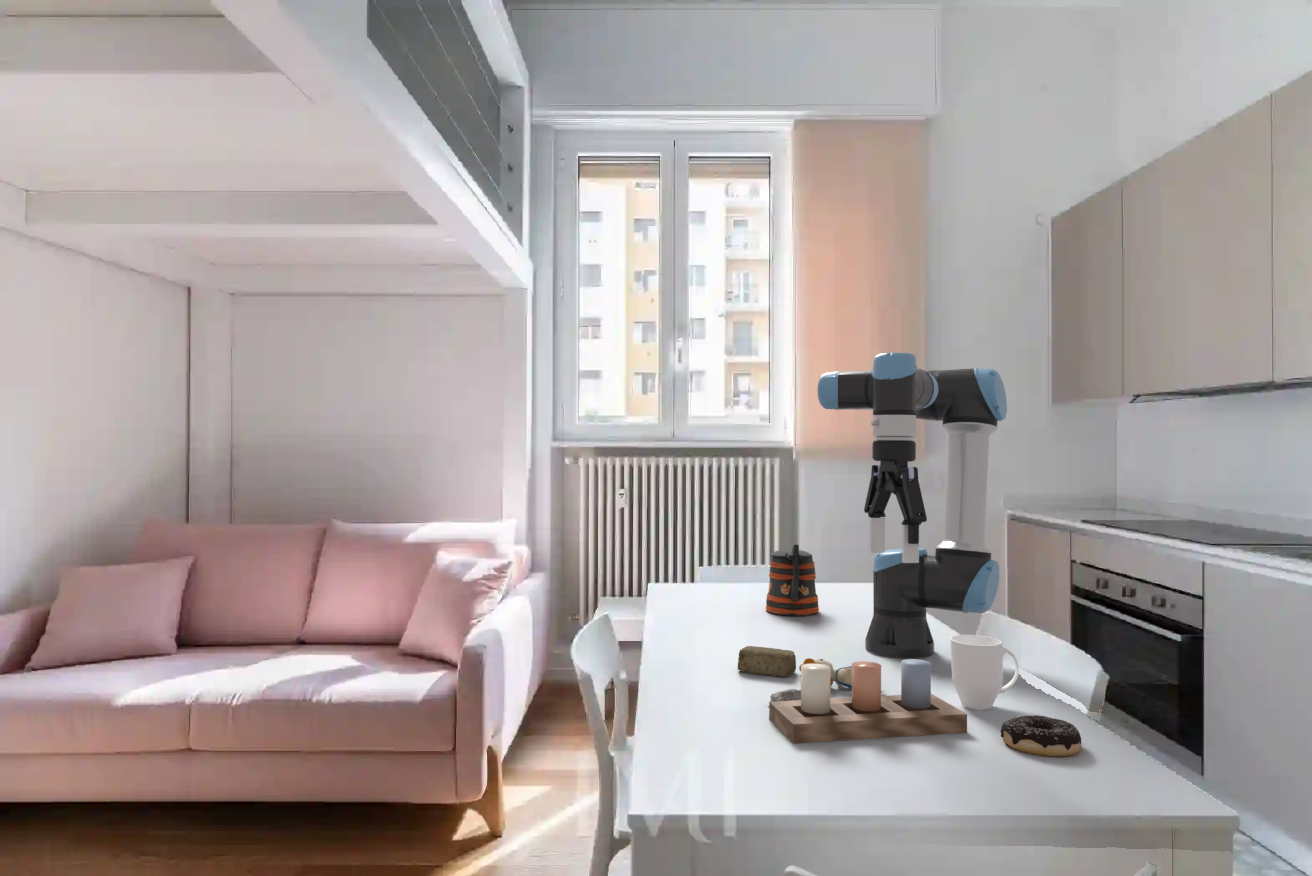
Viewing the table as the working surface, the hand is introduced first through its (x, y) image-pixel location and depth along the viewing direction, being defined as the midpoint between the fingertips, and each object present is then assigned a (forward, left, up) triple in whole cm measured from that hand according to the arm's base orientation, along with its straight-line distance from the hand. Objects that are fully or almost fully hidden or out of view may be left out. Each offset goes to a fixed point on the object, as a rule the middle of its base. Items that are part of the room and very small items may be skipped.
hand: (893, 557), depth 157 cm
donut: (-14, +22, -27) cm, 38 cm away
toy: (+5, -13, -27) cm, 30 cm away
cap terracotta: (+9, +9, -24) cm, 27 cm away
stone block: (+15, -27, -27) cm, 41 cm away
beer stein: (-12, -84, -27) cm, 89 cm away
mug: (-17, +2, -27) cm, 32 cm away
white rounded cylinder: (+18, +9, -24) cm, 31 cm away
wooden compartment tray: (+9, +9, -27) cm, 30 cm away
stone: (+18, -4, -27) cm, 33 cm away
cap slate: (0, +9, -24) cm, 25 cm away
